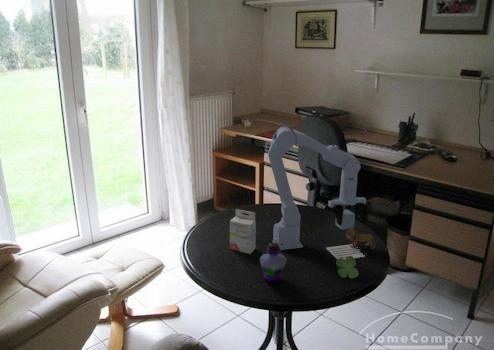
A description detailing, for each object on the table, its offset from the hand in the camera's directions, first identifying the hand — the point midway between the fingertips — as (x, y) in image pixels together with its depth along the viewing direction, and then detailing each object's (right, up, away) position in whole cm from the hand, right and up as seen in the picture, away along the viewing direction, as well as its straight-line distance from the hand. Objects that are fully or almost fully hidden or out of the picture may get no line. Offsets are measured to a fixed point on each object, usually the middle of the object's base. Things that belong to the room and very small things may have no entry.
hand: (345, 223), depth 152 cm
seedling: (-3, -14, -14) cm, 20 cm away
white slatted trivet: (0, -10, -3) cm, 11 cm away
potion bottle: (-28, -15, -21) cm, 38 cm away
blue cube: (0, -1, +1) cm, 2 cm away
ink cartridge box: (-38, -10, -1) cm, 39 cm away
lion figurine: (+6, -9, +1) cm, 11 cm away
